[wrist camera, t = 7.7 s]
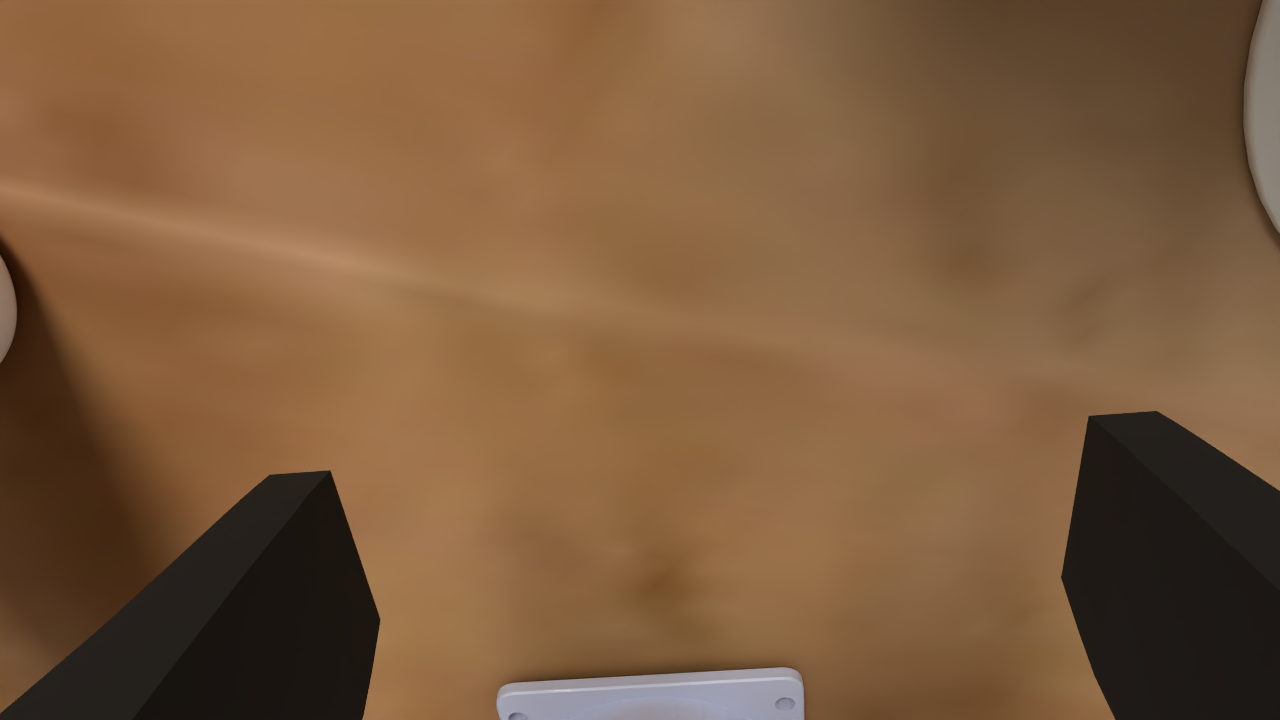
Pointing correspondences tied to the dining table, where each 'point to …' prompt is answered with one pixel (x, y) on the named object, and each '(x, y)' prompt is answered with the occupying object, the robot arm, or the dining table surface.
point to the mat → (1264, 108)
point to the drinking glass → (6, 310)
